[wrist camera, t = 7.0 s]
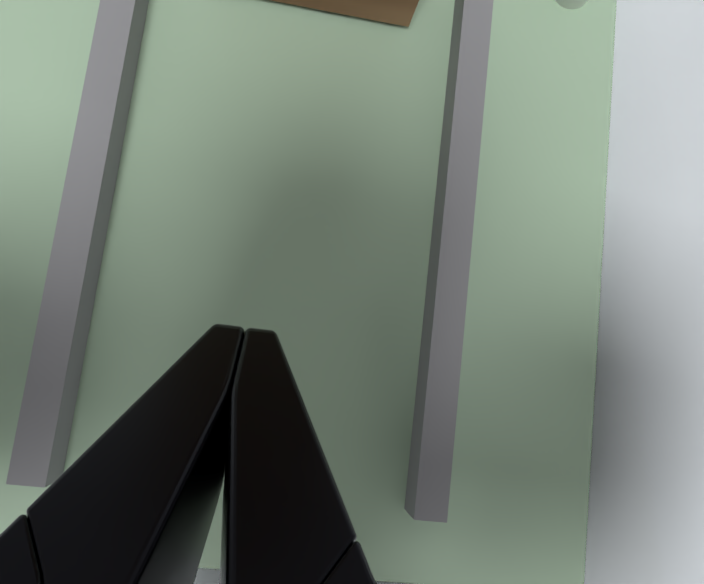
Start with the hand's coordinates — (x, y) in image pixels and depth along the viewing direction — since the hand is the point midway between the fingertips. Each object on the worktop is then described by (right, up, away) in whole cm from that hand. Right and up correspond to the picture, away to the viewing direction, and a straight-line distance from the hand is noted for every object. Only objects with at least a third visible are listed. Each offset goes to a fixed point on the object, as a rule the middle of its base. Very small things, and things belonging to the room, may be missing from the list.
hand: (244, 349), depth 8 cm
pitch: (0, +6, +8) cm, 10 cm away
